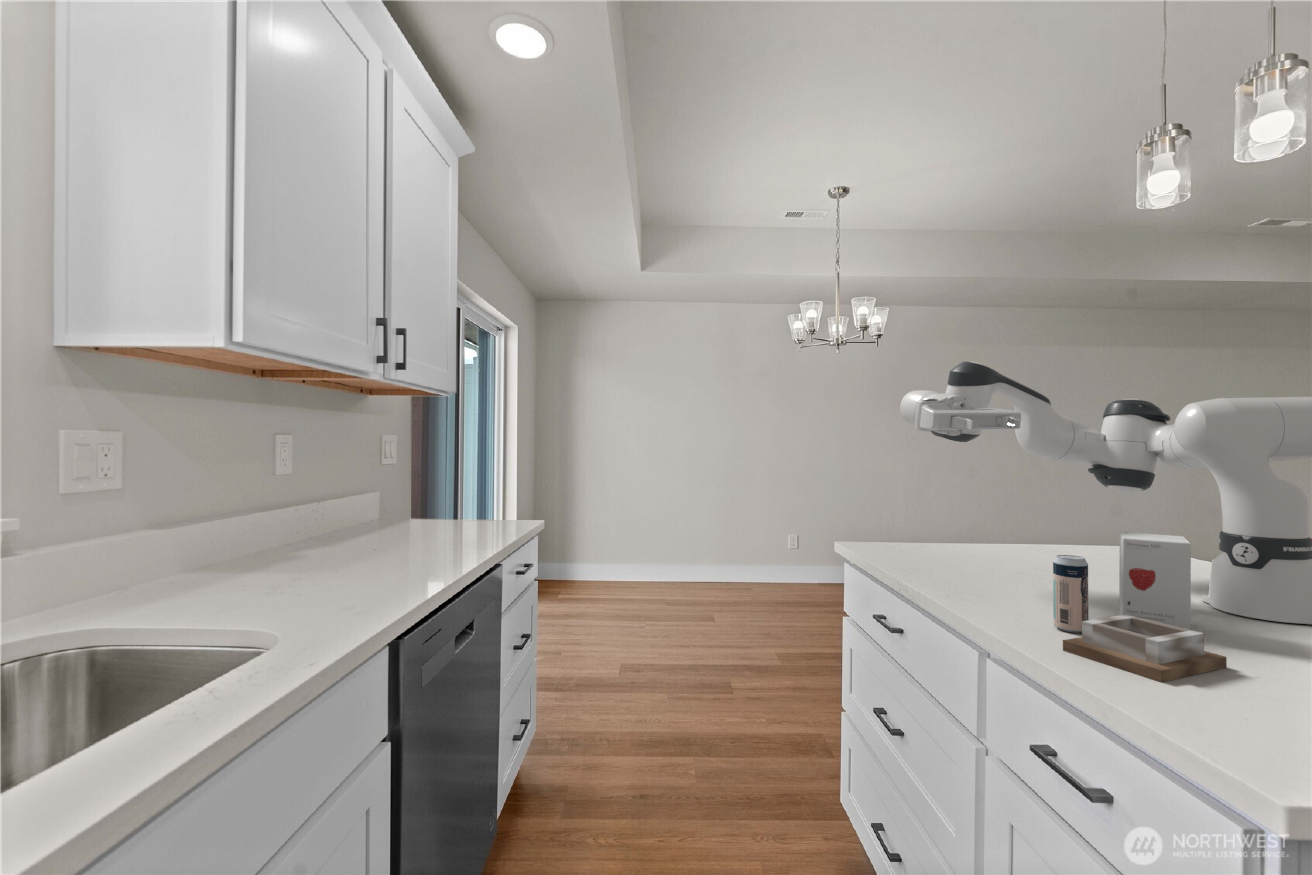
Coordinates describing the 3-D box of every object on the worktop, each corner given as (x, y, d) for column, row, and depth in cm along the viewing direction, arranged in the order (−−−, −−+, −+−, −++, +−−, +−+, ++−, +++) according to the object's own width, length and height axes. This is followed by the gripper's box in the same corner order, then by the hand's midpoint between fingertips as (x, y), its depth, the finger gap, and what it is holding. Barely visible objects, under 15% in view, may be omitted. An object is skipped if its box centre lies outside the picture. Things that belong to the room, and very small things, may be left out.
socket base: (1125, 639, 96) (1124, 610, 96) (1226, 667, 84) (1226, 634, 84) (1062, 650, 91) (1062, 619, 91) (1161, 682, 79) (1161, 647, 79)
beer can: (1094, 634, 98) (1093, 560, 98) (1061, 633, 99) (1060, 559, 99) (1080, 626, 103) (1079, 554, 103) (1048, 624, 104) (1048, 553, 104)
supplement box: (1121, 626, 103) (1120, 537, 103) (1118, 613, 110) (1118, 530, 111) (1192, 636, 98) (1191, 542, 98) (1184, 622, 105) (1184, 535, 105)
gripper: (992, 428, 137) (1040, 439, 123) (908, 429, 133) (948, 441, 120) (995, 400, 135) (1044, 408, 122) (910, 400, 132) (951, 409, 119)
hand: (996, 424), depth 121 cm, fingers open, 8 cm apart
